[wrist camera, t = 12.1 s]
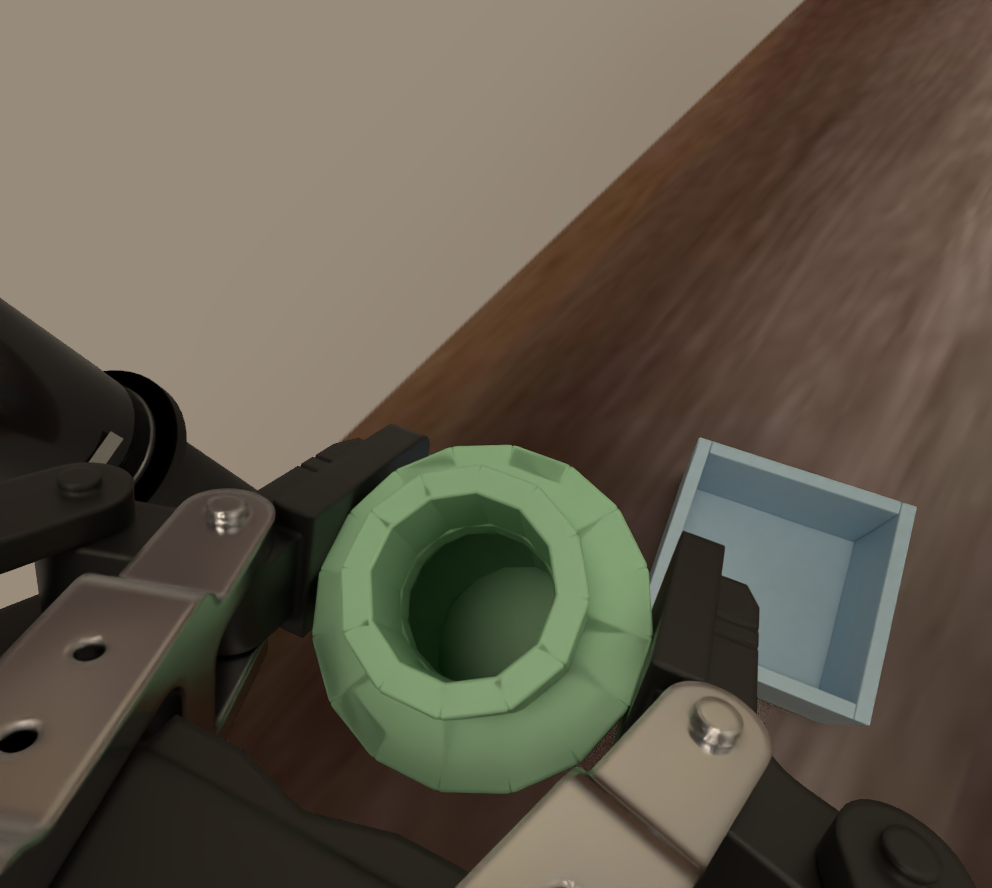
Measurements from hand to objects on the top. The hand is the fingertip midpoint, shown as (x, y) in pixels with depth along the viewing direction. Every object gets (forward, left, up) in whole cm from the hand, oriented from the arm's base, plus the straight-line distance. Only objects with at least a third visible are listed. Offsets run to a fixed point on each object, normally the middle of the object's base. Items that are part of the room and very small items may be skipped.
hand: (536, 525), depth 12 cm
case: (+7, +6, -22) cm, 24 cm away
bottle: (0, -2, -6) cm, 6 cm away
